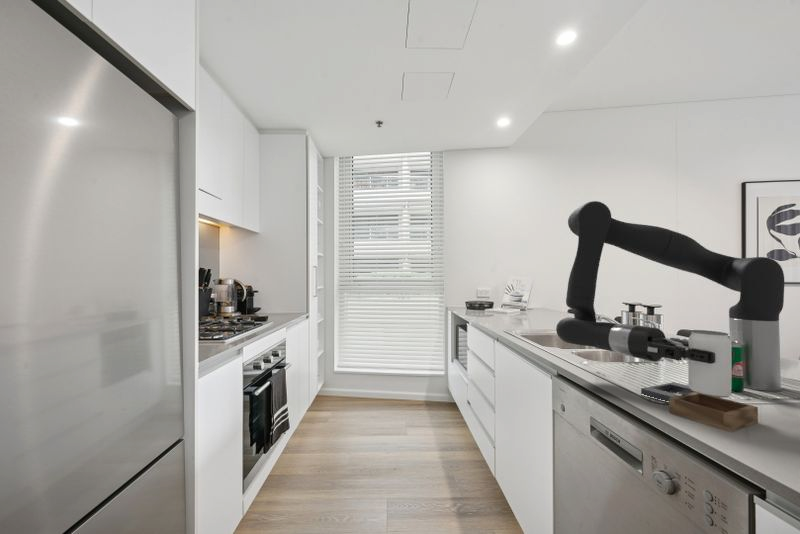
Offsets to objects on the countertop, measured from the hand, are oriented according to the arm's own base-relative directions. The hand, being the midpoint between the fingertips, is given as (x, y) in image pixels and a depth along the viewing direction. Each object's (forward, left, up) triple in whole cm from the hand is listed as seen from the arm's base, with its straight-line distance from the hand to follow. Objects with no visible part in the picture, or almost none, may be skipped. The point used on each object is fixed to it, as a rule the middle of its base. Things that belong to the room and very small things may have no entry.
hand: (723, 356), depth 69 cm
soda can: (-26, -10, -13) cm, 31 cm away
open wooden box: (0, -2, -12) cm, 13 cm away
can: (0, -2, -8) cm, 8 cm away
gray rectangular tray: (-8, -12, -12) cm, 19 cm away
